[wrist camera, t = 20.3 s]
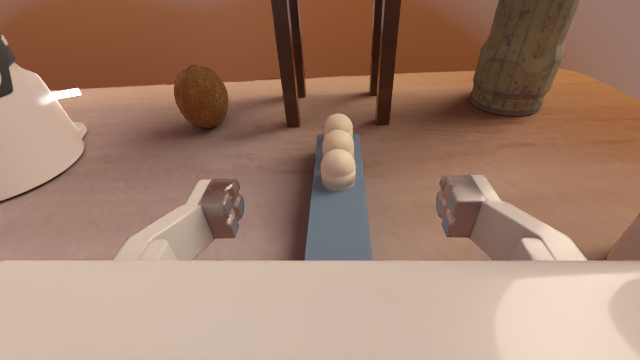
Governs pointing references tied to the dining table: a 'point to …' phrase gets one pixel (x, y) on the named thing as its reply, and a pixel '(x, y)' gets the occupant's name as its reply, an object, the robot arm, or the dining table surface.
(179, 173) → the dining table surface
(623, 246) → the cylinder vase
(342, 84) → the dining table surface
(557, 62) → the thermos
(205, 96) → the fruit
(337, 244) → the egg holder
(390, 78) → the crate stand
